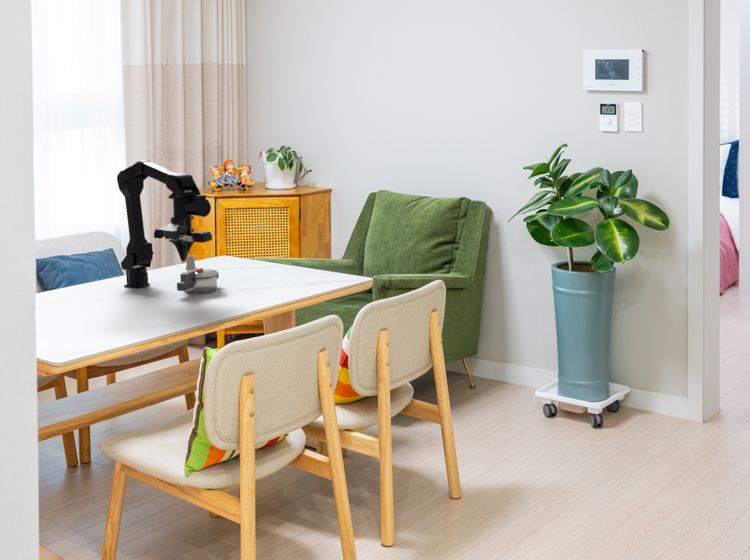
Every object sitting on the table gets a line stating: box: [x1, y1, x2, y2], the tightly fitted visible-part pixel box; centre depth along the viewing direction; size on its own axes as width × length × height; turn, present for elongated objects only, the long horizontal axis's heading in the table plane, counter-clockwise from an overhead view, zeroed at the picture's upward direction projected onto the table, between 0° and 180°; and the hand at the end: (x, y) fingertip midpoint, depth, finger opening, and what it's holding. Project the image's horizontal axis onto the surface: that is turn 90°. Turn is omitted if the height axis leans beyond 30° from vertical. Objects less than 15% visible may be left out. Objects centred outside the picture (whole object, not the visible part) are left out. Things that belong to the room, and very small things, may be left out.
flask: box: [184, 255, 197, 271], centre depth 328 cm, size 7×7×10 cm
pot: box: [176, 271, 220, 295], centre depth 317 cm, size 20×11×5 cm, turn 158°
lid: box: [179, 267, 218, 282], centre depth 315 cm, size 18×12×2 cm, turn 164°
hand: (183, 260), depth 310 cm, fingers closed
